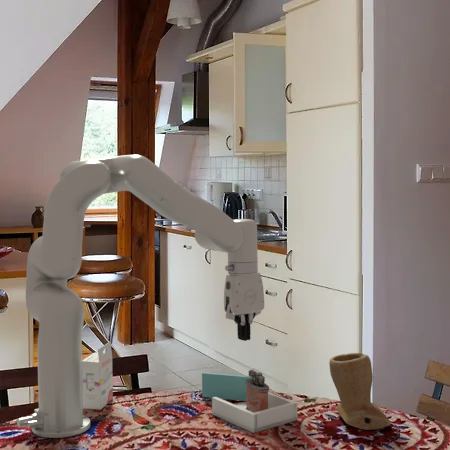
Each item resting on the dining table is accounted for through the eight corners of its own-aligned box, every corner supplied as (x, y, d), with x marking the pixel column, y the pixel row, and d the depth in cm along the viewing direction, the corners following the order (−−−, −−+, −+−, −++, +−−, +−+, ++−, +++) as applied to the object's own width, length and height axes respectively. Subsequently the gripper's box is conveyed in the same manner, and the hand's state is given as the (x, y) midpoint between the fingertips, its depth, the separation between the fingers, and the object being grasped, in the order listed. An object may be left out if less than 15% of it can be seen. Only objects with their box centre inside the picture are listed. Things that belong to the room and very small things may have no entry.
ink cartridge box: (94, 397, 174) (93, 340, 173) (113, 398, 173) (112, 340, 172) (81, 408, 166) (79, 348, 165) (100, 410, 165) (99, 349, 164)
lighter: (272, 419, 155) (272, 376, 155) (259, 422, 154) (259, 378, 153) (255, 409, 163) (255, 367, 162) (242, 411, 161) (242, 369, 160)
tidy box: (253, 433, 150) (253, 414, 149) (212, 414, 162) (212, 397, 161) (297, 419, 158) (297, 402, 157) (254, 402, 169) (254, 386, 169)
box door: (202, 396, 173) (202, 373, 173) (203, 395, 174) (203, 372, 174) (252, 401, 170) (252, 377, 169) (253, 400, 170) (253, 376, 170)
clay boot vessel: (325, 409, 165) (325, 347, 164) (374, 408, 165) (375, 347, 164) (336, 433, 150) (337, 365, 148) (391, 432, 150) (392, 364, 149)
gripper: (228, 272, 167) (230, 347, 169) (274, 266, 176) (275, 337, 178) (210, 269, 173) (211, 341, 175) (255, 263, 182) (257, 332, 184)
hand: (244, 339), depth 176 cm, fingers closed
